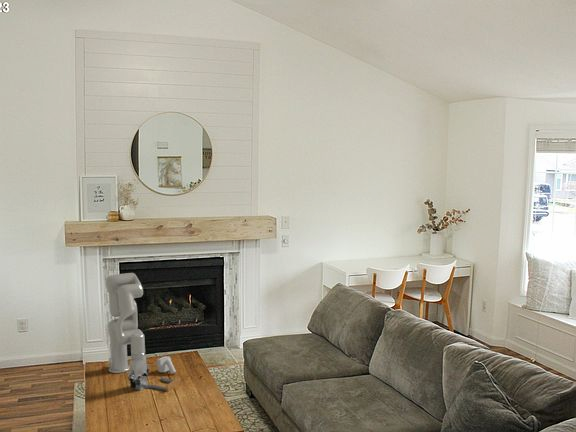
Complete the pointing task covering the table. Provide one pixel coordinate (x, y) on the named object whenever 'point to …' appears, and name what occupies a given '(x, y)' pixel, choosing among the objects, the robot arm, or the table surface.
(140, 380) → the block
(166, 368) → the white jointed piece
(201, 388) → the table surface
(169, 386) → the receiver
